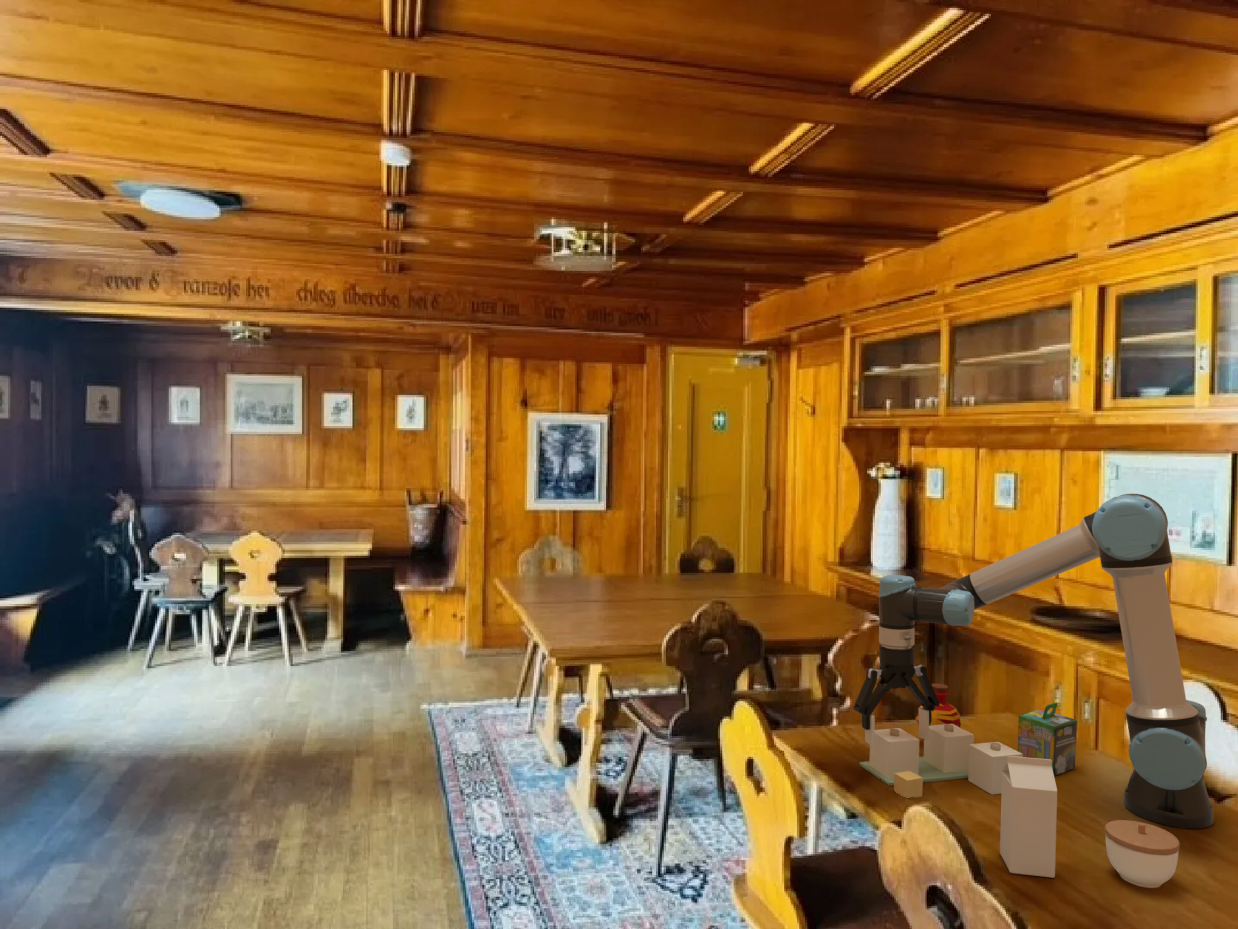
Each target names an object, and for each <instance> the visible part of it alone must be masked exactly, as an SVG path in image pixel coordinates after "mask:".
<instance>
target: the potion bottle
mask: <svg viewBox="0 0 1238 929" xmlns="http://www.w3.org/2000/svg"><path fill="white" fill-rule="evenodd" d="M931 685H932V687H933V689H934V691H935V693H936V696H937V698H938V700H939V702H940V705H939V706H938V707H937V706H935V710H934V711H932V718H931V719H932V721H931V724H929V726H932V725H944V724H954V725H956V726H958V727H960V728H962V727H961V726H962V724H961V714H960V713H959V712H958V710H957V708H956V707H955V706H953V705H952V704H950V703H949V702H948V701H946V697H949V695H950V693H949V691H948V689H949V686H948V685H947V684H943V683H931ZM920 707H922V708H923V706H922V705H920V706H919V708H920ZM919 708H918V712H917V716H915V721H916V722H917V726H918V727H919Z"/></svg>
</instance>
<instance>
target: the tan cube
mask: <svg viewBox="0 0 1238 929" xmlns="http://www.w3.org/2000/svg"><path fill="white" fill-rule="evenodd" d="M923 783H924V782H923V778H922V777H920V776H918V775H916V774H915V773H913V772H911V771H905V772H899V773H894V785H893V792H894V791H895V792H896V793H895V792H894V793H895V794H897V793H898V794H897V795H899V794H900V795H899V796H901V797H902V796H903V797H902V798H904V797H906V798H911V797H914V798H913V799H915V798H920V797H921V798H922V797H923V789H924V788H923ZM906 798H905V799H906ZM911 799H912V798H911Z"/></svg>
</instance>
